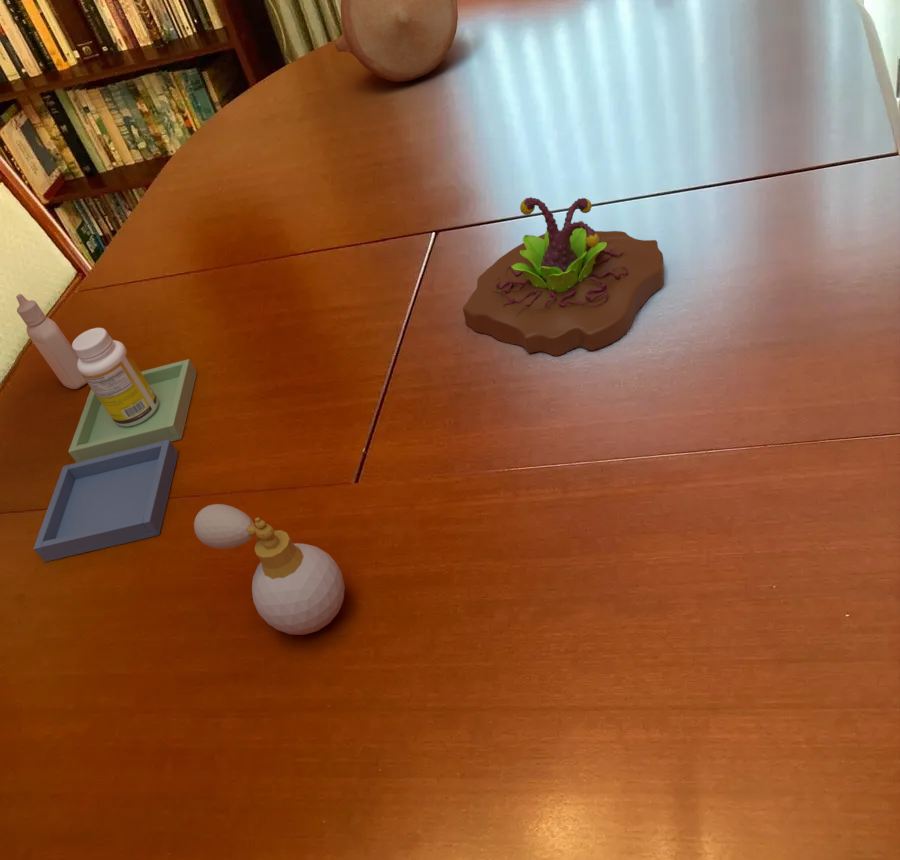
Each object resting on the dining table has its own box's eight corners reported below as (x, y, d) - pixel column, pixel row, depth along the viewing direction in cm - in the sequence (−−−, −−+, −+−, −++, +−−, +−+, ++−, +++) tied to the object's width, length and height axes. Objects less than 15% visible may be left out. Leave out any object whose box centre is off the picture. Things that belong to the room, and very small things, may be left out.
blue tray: (44, 562, 89) (32, 548, 87) (73, 479, 97) (62, 466, 95) (159, 535, 87) (149, 521, 85) (178, 453, 95) (169, 439, 94)
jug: (321, 40, 136) (301, 18, 158) (420, 117, 145) (388, 87, 168) (393, -93, 128) (361, -95, 150) (492, -1, 138) (448, -17, 160)
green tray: (78, 465, 99) (67, 451, 97) (101, 397, 107) (92, 384, 105) (181, 439, 97) (172, 425, 95) (197, 372, 105) (189, 358, 103)
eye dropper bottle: (59, 397, 109) (-2, 313, 101) (62, 373, 113) (4, 291, 104) (91, 385, 109) (34, 300, 100) (93, 362, 113) (38, 278, 104)
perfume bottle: (353, 642, 71) (298, 541, 63) (242, 662, 73) (173, 567, 64) (357, 574, 76) (306, 472, 67) (253, 594, 78) (190, 497, 69)
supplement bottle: (132, 396, 104) (84, 322, 96) (169, 398, 102) (122, 322, 94) (106, 428, 101) (54, 353, 94) (142, 430, 99) (92, 354, 91)
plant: (535, 239, 105) (517, 144, 97) (689, 256, 94) (684, 151, 86) (441, 338, 96) (412, 243, 88) (598, 368, 86) (583, 264, 78)
